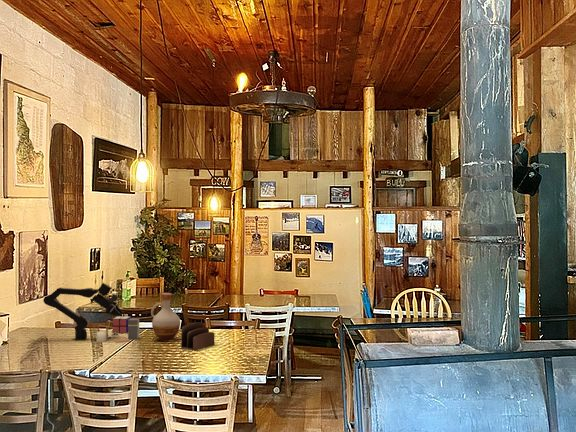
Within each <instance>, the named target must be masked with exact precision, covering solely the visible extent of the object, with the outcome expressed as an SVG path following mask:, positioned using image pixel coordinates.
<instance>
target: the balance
mask: <svg viewBox="0 0 576 432" xmlns="http://www.w3.org/2000/svg"><path fill="white" fill-rule="evenodd" d="M97 326H98V329H97V331H95V334H97V332H98V331H100V327H105V331H106V332H107V337H106V340H111V338H112V337H115V336H116V337H117V336H119V333H117V332H114V333H112V334H111V336H112V337H111V336H109V328H110V329H112V328H115V327H112V326H109V325H103V324H98V325H97Z"/></svg>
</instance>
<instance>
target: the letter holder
mask: <svg viewBox="0 0 576 432" xmlns="http://www.w3.org/2000/svg"><path fill="white" fill-rule="evenodd" d="M180 335H181V336H180V349H181V350H186V349H188V350H187V351H193V350H194V351H196V350H201V349H204V348H208V347H211V346H214V345H216V344H215V332H214V331H213V332H212V331H210V329H209V327H204V322H199V321H198V322H191V323H189V324H187V325H186V324H185V325H183V326H182V327H181V332H180Z"/></svg>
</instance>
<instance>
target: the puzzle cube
mask: <svg viewBox="0 0 576 432" xmlns="http://www.w3.org/2000/svg"><path fill="white" fill-rule="evenodd" d="M129 319H132V316H115V317H113V318H112V324H111V325H112V326H111V327H115V328H111V329H112V330H111V331H112V334H114V332H117V334H128V320H129Z"/></svg>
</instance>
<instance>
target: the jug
mask: <svg viewBox="0 0 576 432" xmlns="http://www.w3.org/2000/svg"><path fill="white" fill-rule="evenodd" d="M160 294H161V298H160V299H161V302H157V303H155V304H154V305H153V307H152V308H151V311H150V316H151V317H152V320H151V326H152V330H153V332H154V334H155V336H156V338H157V339H158V340H159V341H161V342H171V341H173V340H174V338H175V337H176V336H177V334H178V332H179V330H180V327H181V319H180V316H178V314H177V313H175V311H173V309H172V308H171V302H172V301H171V300H172V296H173V295H172V293H170V292H162V293H160ZM158 306H161V309H160V311H159V312H157V314H156V315H155V314H154V312H155V309H156V307H158Z"/></svg>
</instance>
